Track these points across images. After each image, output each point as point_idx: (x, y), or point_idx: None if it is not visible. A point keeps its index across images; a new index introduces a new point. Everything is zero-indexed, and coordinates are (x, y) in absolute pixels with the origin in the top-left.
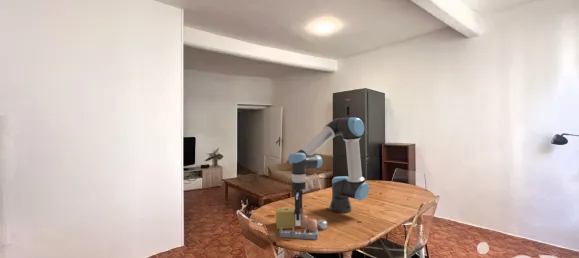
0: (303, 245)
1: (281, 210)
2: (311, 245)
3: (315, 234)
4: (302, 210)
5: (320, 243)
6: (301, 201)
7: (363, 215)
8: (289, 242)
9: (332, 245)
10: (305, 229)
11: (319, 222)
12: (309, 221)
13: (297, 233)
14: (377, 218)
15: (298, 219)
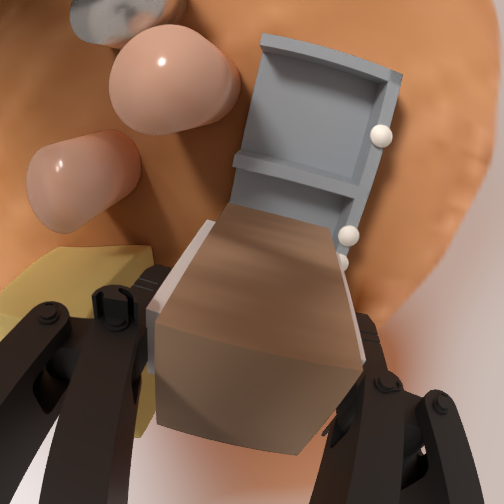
0: (459, 210)
1: None
2: (471, 155)
3: (392, 88)
4: (303, 359)
5: (452, 79)
6: (61, 485)
7: None
8: (395, 294)
9: (476, 16)
10: (259, 164)
11: (138, 13)
12: (194, 120)
13: (346, 251)
14: None
15: (371, 328)
